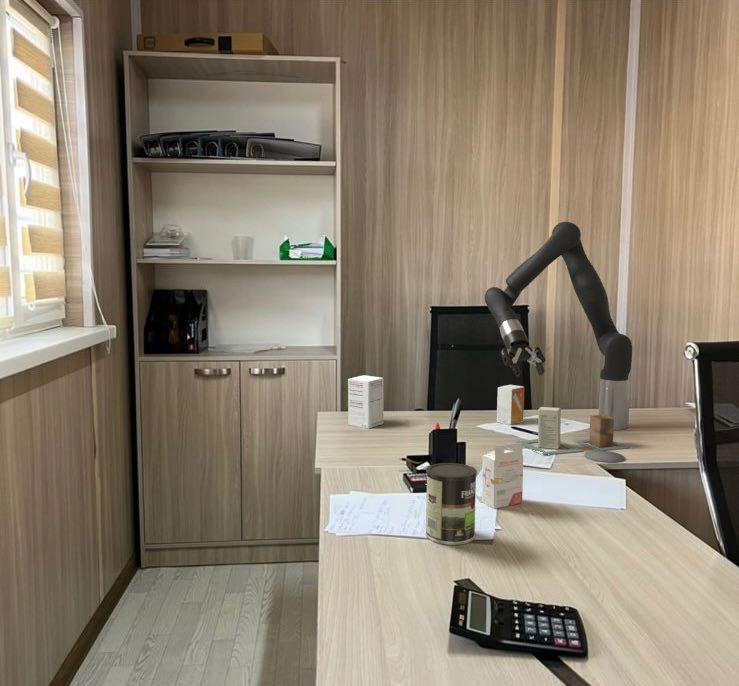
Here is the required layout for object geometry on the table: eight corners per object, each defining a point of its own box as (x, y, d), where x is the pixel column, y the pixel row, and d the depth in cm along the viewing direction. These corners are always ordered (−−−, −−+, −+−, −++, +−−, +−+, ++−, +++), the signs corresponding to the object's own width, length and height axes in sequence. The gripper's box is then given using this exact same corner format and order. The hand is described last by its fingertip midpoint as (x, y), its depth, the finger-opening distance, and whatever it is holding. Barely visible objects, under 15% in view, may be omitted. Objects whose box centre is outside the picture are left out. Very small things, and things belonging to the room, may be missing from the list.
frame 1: (553, 439, 219) (553, 437, 219) (583, 451, 204) (583, 450, 204) (515, 442, 214) (515, 441, 214) (543, 455, 199) (543, 454, 199)
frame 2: (604, 439, 219) (604, 437, 219) (629, 448, 208) (629, 447, 208) (573, 442, 215) (573, 440, 215) (596, 451, 204) (596, 450, 204)
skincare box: (560, 446, 210) (561, 407, 208) (558, 449, 206) (559, 410, 204) (539, 444, 212) (540, 406, 211) (537, 447, 208) (538, 408, 207)
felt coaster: (607, 451, 205) (607, 449, 204) (632, 461, 194) (632, 458, 194) (576, 454, 201) (576, 452, 201) (600, 464, 191) (600, 462, 191)
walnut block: (602, 442, 215) (603, 414, 214) (612, 446, 210) (614, 418, 209) (589, 443, 213) (590, 415, 212) (599, 447, 208) (600, 419, 207)
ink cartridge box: (509, 497, 163) (510, 437, 162) (522, 503, 159) (524, 442, 157) (480, 502, 159) (482, 442, 158) (493, 509, 155) (495, 447, 153)
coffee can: (482, 532, 141) (484, 467, 140) (462, 549, 133) (464, 480, 131) (438, 522, 147) (439, 459, 145) (416, 538, 138) (417, 471, 136)
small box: (510, 425, 238) (512, 389, 236) (496, 422, 242) (497, 386, 241) (523, 421, 243) (524, 386, 242) (509, 419, 248) (510, 384, 247)
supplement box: (363, 420, 245) (363, 374, 243) (384, 423, 240) (384, 377, 238) (347, 425, 237) (347, 378, 235) (368, 429, 232) (368, 380, 230)
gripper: (499, 328, 222) (515, 368, 212) (536, 328, 227) (554, 367, 217) (490, 343, 228) (506, 382, 218) (527, 342, 232) (544, 380, 223)
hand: (530, 374), depth 218 cm, fingers open, 8 cm apart
